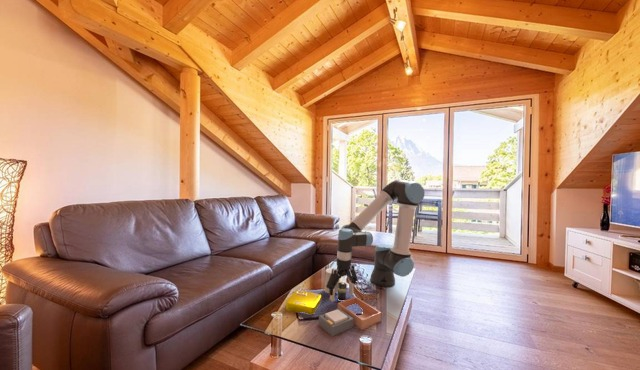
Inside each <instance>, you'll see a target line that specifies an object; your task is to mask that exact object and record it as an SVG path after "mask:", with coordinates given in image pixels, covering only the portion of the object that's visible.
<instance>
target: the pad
mask: <svg viewBox="0 0 640 370" xmlns="http://www.w3.org/2000/svg"><path fill="white" fill-rule="evenodd" d="M324 314H325V313H324ZM325 318H326V319H327V320H330V321H331V322H332V323H333V324H334V325H335V324H338V323H340V322H343V321H345V320H348V316H346V315H345V314H343V313H342V312H341V311H339V310H338V309H334V310H332V311H331V310H330V311H329V312H326V314H325Z"/></svg>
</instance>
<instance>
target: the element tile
mask: <svg viewBox="0 0 640 370" xmlns="http://www.w3.org/2000/svg"><path fill="white" fill-rule="evenodd" d="M320 302H321V303H322V294H320V293H316V292H311V291H306V290H300V289H296V290H294V291H293V292H292V294H291V295H290V296H289V297H288V298H287V300H286V301H285V311H287V312H291V313H292V312H293V313H296V314H297V313H298V312H305V313H308V314H313V313H315V311H316V309H317V307H318V306H319V304H320ZM320 305H321V304H320ZM319 307H320V306H319ZM319 307H318V308H319ZM317 310H318V309H317ZM316 312H317V311H316ZM298 314H299V313H298ZM315 314H316V313H315Z"/></svg>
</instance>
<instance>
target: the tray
mask: <svg viewBox="0 0 640 370" xmlns="http://www.w3.org/2000/svg"><path fill="white" fill-rule="evenodd" d="M355 303H356V304H358V305H359V306H360V307H361V308H362V309H363V314H362V315H360V316H357V315H356V314H354V313H353V312H351V311H350V310H348V309H347V308H346V307H347V306H349V305H352V304H355ZM337 309H341V310H342V311H344V312H345V313H346V314H348V315H349V316H351V317H352V318H353V319H354V322H353V325H354V324H355V327H357V328H358V327H359V329H360V330H361V331H362V330H363V331H364V330H365V329H368V328H370V327H372V326H374V325H376V324H378V323H381V321H382V320H381V319H382V312H381V311H379V310H378V309H376V308H375V307H374V306H372V305H370V304H368V303H367V302H365V301H363V300H362V299H360V298H359V297H357V296H354V297H352V298H348V299H346V300H345V301H342V302H338V303H337ZM337 309H336V310H337Z"/></svg>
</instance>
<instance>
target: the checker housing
mask: <svg viewBox="0 0 640 370" xmlns="http://www.w3.org/2000/svg"><path fill="white" fill-rule="evenodd" d="M338 310H339V311H341V312H342V313H343V314H345V315H346V316H348V320H345V321H343V322H340V323H338V324H335V325H334V324H333V323H332V322H331V321H330V320H327V319H326V318H325V314H326V313H327V312H326V313H323V314H320V315H318V325H319V326H320V327H321V328H322V329H324V331H326V332H327V333H328V334H329V335H330V336H331V337H333V336H336V335H338V334H340V333H344V332H345V331H347V330H348V331H349V330H350V329H352V328H354V324H353V322H354V319H353V318H352V317H351V316H349V315H348V314H346V313H345V312H344V311H342V310H341V309H338Z"/></svg>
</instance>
